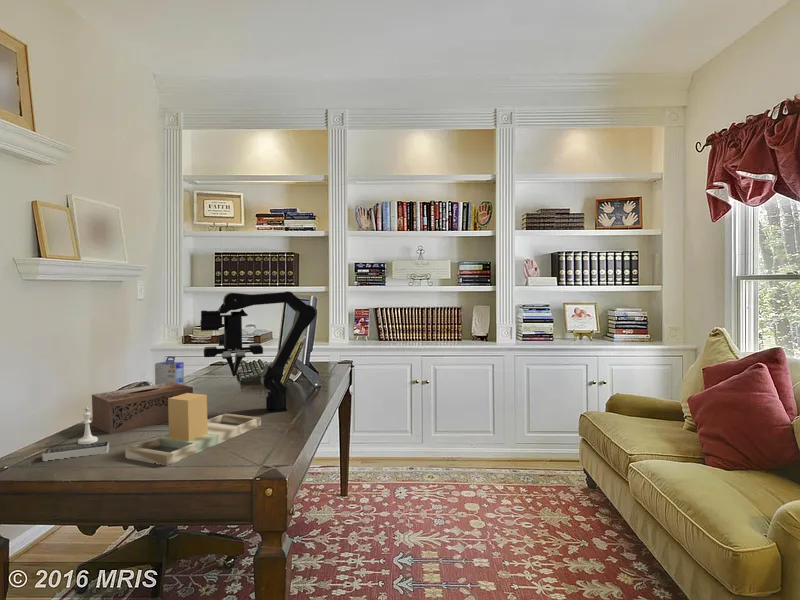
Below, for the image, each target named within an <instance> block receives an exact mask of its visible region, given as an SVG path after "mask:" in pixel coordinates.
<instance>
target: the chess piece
mask: <svg viewBox="0 0 800 600" xmlns="http://www.w3.org/2000/svg"><path fill="white" fill-rule="evenodd" d="M82 410H83V413H82V416H83V419H84V420H83V421H82V424H85V425H84V434H83V436H82V437H81V438H79V439H77V444H78V445H85V444H93V443H97V442H98V441H99V438H98V437H97V436H94V435H93V434H92V431H91V428H90V427H91V426H90V424H91V423H93V420H90V419H91V416H92V413H91V412H89V411H91V408H89V407H88V406H85V408H83V409H82Z"/></svg>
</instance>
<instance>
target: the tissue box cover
mask: <svg viewBox="0 0 800 600" xmlns="http://www.w3.org/2000/svg"><path fill="white" fill-rule="evenodd" d="M185 393H193V394H194V387H192V386H188V385H186V384H184V385H182V384H179V383H175V382H169V383H162V384H156V385H155V384H150V385H144V386H137V387H131V388H125V389H119V390H113V391H107V392H100V393H93V394H91V407H92V408H91V409H92V410H91V411H92V413H91V416H92V426H93V427H96V428H97V429H99V430H101V431H102V432H103V431H104V432H105V433H107V434H109V435H113V434H119V433H123V432H126V431H127V432H128V431H133V430H136V429H141V428H146V427H150V426H154V425H159V424H165V423H169V415H168V398H171V397H175V396H178V395H182V394H185Z"/></svg>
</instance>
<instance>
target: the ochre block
mask: <svg viewBox="0 0 800 600" xmlns="http://www.w3.org/2000/svg"><path fill="white" fill-rule="evenodd" d="M168 415H169V422H168V434H169V438H171V439H178V440H185V441H191V440H193V439H196V438H198V437H201V436H203V435H206V434H208V424H207V420H208V395H207V394H201V393H194V392H193V393H185V394H182V395H178V396H175V397H171V398H168Z"/></svg>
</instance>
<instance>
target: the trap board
mask: <svg viewBox="0 0 800 600" xmlns="http://www.w3.org/2000/svg"><path fill="white" fill-rule="evenodd" d="M207 424H208V434H206V435H203V436H201V437H198V438H196V439H193V440H191V441H185V440H178V439H171V438H169V433H166V434H163V435H161V436H158V437H155V438H152V439H149V440H147V441H144V442H141V443H138V444H135V445H132V446H129V447H127V448H125V459H126V458H127V460H133V461H138V462H142V463H143V462H144V463H150V464H154V463H156V464H155V465H160V464H161V465H162V466H166V465H168V466H169V464H170V465H172V464H175V463H177V462H179V461H181V459H182V460H184V459H186V458H188V457H190V456H193V455H196V454H197V453H200V452H202V451H204V450H207V449H210V448H212V447H214V446H217V445H219V444H221V443H223V442H226V441H228V440H230V439H233V438H235V437H238V436H240V435H242V434H244V433H248V432H249V431H251V430H254V429H256V428H260V427H261V426H262V418H261V417H258V416H249V415H242V414H241V415H240V414H233V413H223V414H219V415H217V416H214V417H211V418H207ZM183 458H184V459H183Z"/></svg>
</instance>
